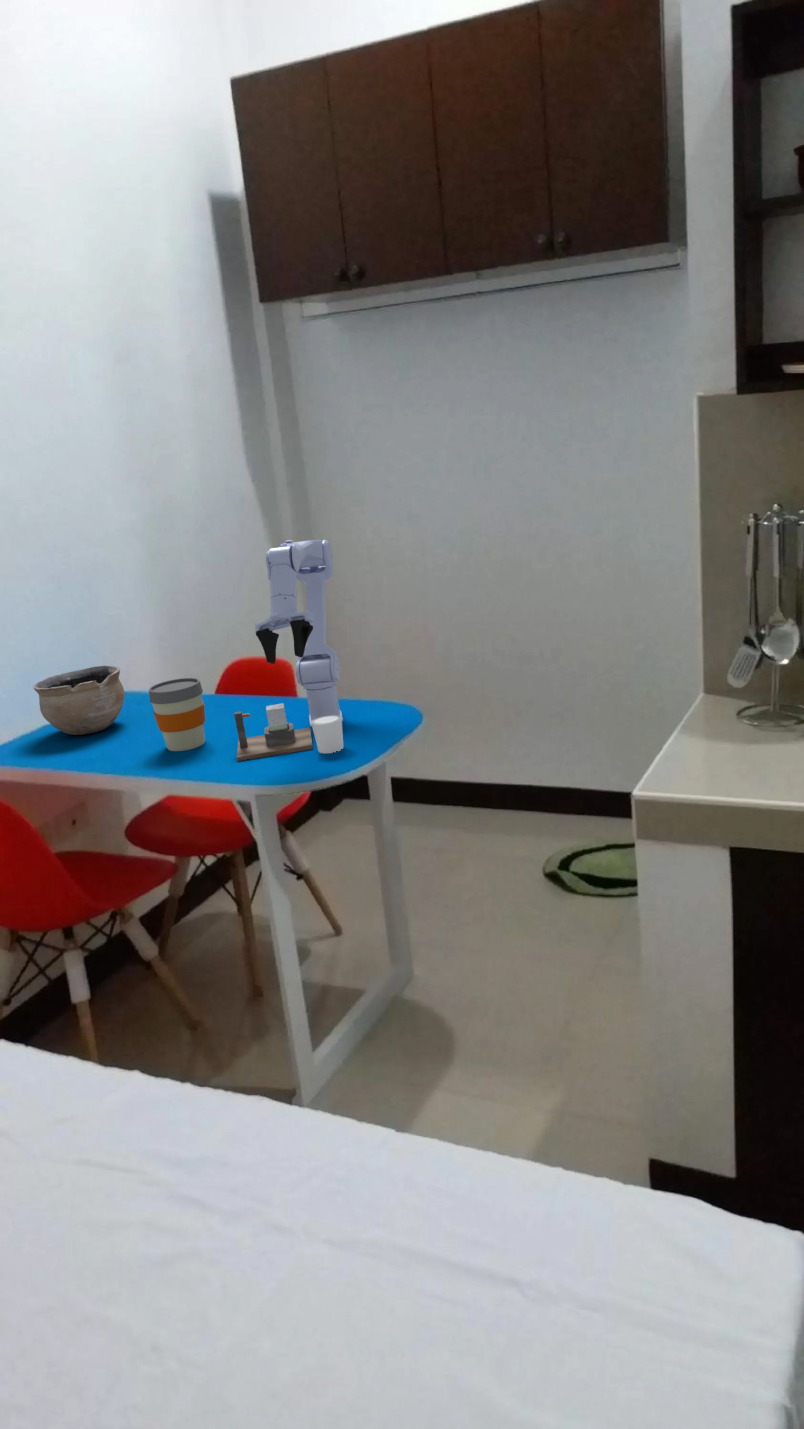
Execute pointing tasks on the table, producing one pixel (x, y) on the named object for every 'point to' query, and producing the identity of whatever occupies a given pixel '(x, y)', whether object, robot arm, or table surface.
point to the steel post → (276, 718)
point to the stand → (270, 741)
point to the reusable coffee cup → (179, 712)
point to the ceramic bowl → (82, 699)
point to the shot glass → (328, 733)
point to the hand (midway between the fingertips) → (284, 659)
